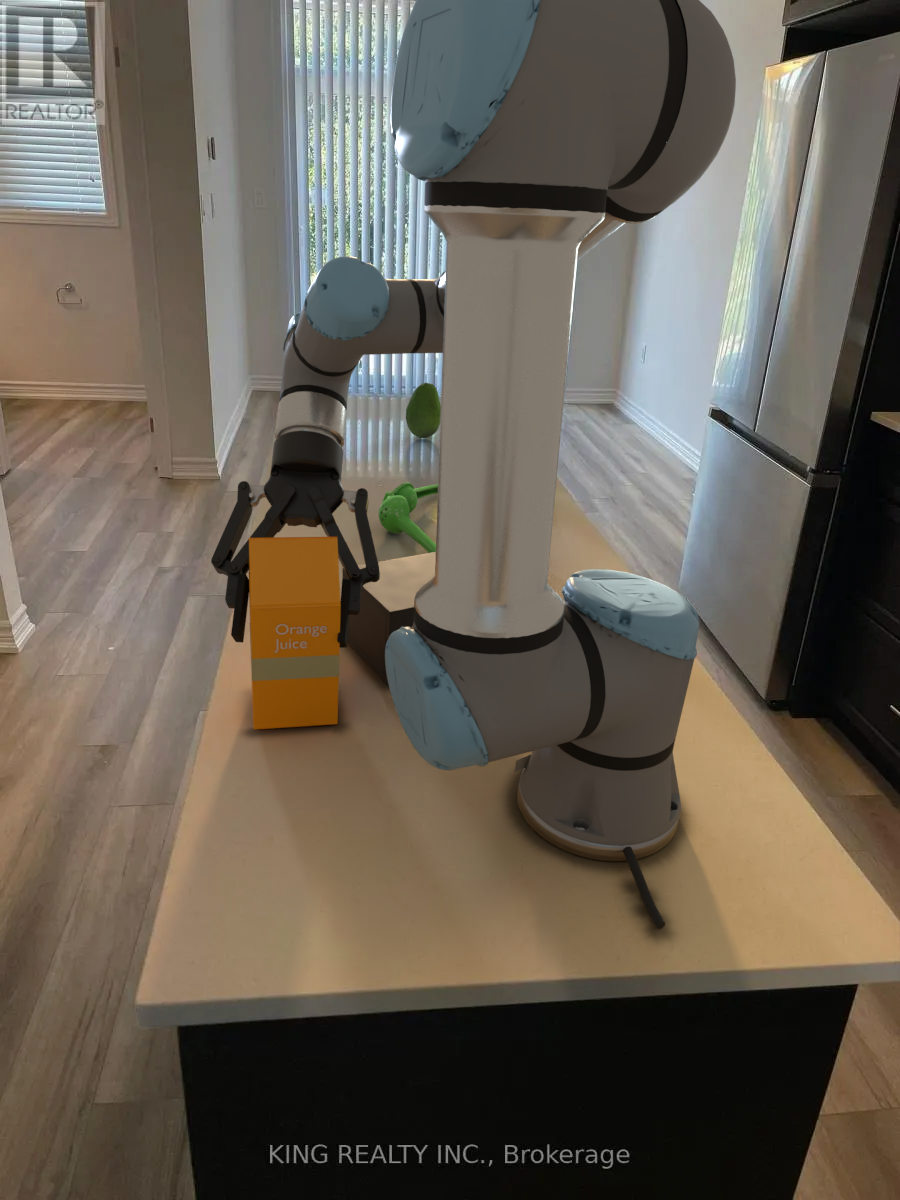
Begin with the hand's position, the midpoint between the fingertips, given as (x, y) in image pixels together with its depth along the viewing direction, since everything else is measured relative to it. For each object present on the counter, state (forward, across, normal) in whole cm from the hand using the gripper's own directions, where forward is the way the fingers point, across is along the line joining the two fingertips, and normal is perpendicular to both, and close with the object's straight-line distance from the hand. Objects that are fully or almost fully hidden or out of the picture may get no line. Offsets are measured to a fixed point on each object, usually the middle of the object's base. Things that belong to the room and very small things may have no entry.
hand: (289, 641), depth 87 cm
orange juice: (+5, 0, -9) cm, 10 cm away
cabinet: (-5, -13, -19) cm, 24 cm away
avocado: (-75, -12, -81) cm, 111 cm away
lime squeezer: (-34, -12, -48) cm, 60 cm away
